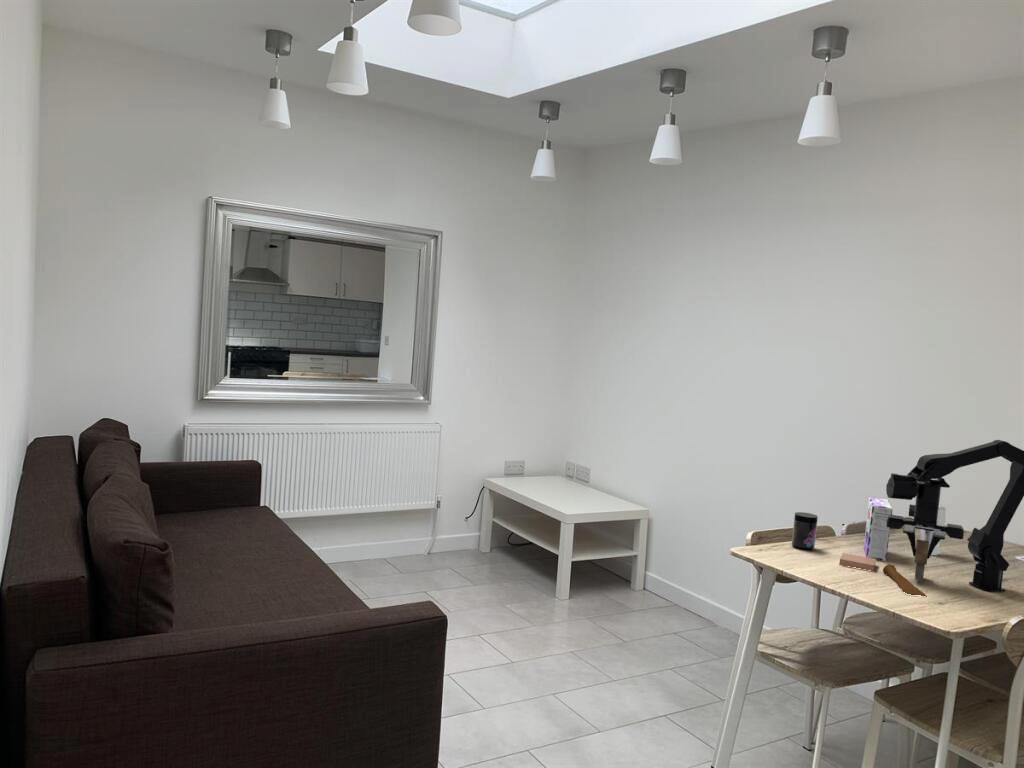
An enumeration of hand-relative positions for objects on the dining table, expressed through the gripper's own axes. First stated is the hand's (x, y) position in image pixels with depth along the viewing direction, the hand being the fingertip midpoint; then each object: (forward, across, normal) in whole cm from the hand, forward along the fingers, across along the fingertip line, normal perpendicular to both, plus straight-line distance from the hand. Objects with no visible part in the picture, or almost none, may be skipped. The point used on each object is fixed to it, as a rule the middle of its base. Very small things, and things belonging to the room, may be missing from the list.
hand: (921, 557), depth 223 cm
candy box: (+7, +12, -22) cm, 26 cm away
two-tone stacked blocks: (+6, 0, 0) cm, 6 cm away
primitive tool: (+7, +4, +8) cm, 11 cm away
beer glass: (+7, -2, -37) cm, 38 cm away
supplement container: (+7, +32, -13) cm, 36 cm away
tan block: (+6, +12, -4) cm, 14 cm away
